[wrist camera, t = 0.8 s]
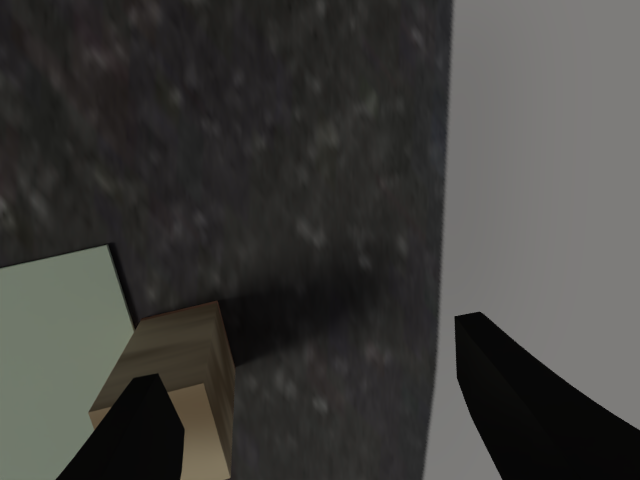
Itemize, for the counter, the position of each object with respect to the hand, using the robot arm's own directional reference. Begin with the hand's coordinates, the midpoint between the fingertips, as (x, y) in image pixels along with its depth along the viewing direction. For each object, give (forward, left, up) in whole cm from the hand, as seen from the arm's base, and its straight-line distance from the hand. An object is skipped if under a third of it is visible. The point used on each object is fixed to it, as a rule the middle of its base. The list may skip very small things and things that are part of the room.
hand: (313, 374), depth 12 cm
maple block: (-5, +6, -17) cm, 19 cm away
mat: (-5, +16, -17) cm, 24 cm away
